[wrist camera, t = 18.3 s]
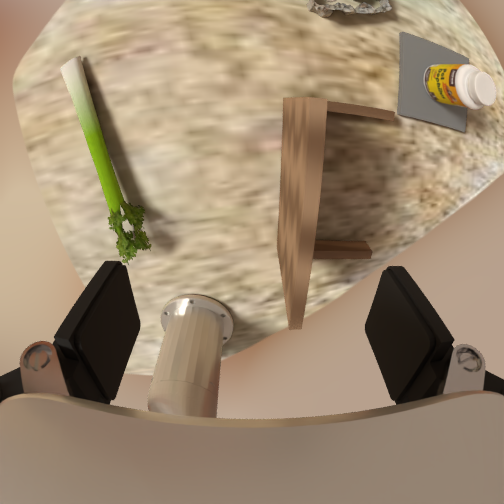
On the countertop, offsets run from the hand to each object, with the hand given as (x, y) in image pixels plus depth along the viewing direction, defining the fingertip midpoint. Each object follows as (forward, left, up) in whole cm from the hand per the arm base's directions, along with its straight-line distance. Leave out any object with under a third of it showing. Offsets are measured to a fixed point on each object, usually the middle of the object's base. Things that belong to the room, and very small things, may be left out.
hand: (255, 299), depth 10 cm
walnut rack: (-3, -11, -28) cm, 30 cm away
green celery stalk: (+1, +20, -28) cm, 35 cm away
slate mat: (+13, -25, -28) cm, 39 cm away
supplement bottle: (+13, -25, -27) cm, 38 cm away
